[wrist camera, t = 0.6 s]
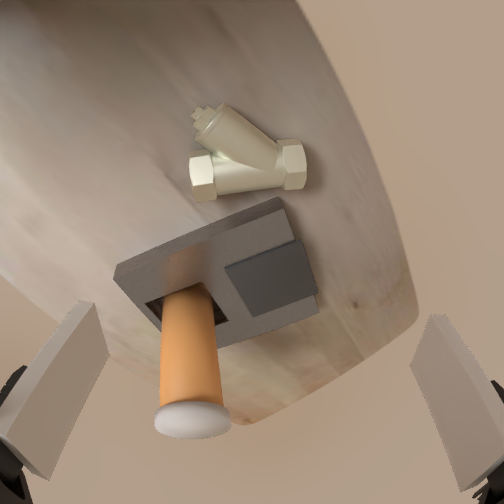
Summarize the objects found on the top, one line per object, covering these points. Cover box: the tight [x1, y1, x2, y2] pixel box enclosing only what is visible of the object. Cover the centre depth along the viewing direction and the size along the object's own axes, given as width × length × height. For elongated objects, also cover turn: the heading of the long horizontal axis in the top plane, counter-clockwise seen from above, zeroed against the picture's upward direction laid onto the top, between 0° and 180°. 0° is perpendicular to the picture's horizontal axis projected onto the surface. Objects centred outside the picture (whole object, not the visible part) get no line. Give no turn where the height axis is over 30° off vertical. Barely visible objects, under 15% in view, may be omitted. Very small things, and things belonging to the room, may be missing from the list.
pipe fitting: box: [188, 103, 307, 203], centre depth 21 cm, size 8×4×7 cm
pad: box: [225, 239, 318, 317], centre depth 29 cm, size 7×7×1 cm
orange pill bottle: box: [155, 283, 231, 439], centre depth 26 cm, size 6×6×14 cm
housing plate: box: [113, 197, 319, 349], centre depth 30 cm, size 14×16×2 cm
